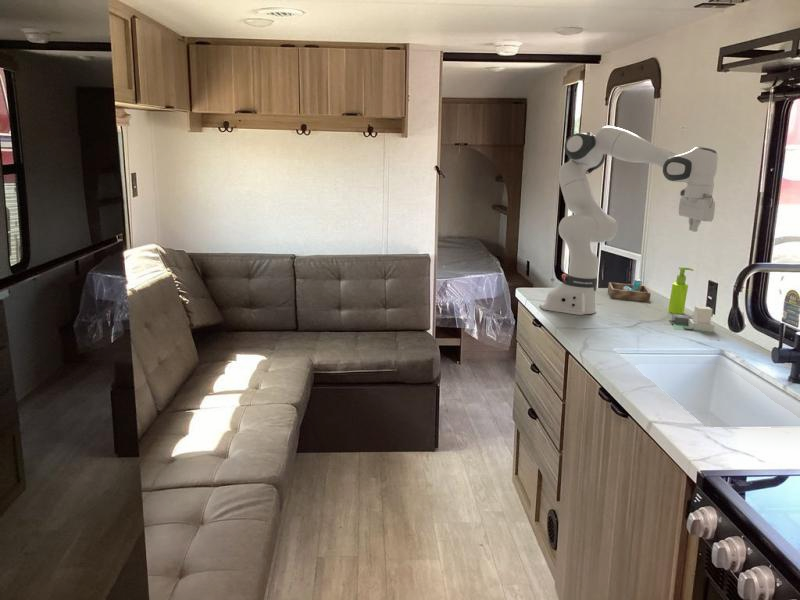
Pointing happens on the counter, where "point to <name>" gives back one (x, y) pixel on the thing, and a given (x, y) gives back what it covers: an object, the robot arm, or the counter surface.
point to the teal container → (634, 286)
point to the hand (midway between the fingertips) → (692, 231)
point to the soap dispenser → (679, 293)
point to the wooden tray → (628, 292)
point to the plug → (702, 315)
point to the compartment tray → (695, 327)
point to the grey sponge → (679, 319)
